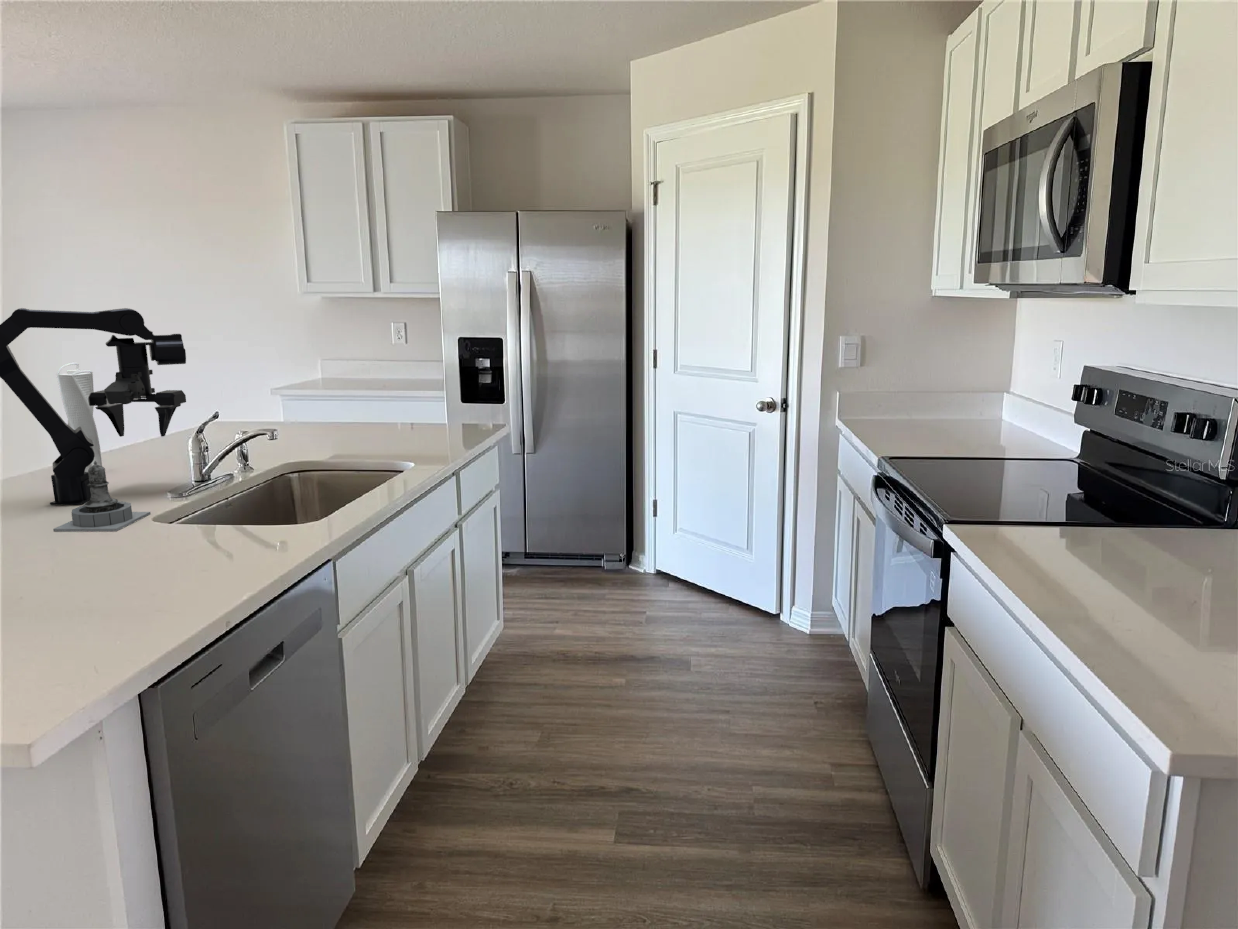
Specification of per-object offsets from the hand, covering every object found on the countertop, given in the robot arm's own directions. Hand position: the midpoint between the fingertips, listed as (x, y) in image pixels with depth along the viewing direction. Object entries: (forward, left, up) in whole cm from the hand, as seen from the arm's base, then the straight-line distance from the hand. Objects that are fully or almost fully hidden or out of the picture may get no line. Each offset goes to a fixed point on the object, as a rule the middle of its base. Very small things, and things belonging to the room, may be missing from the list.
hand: (142, 436), depth 185 cm
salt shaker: (+4, -24, -13) cm, 27 cm away
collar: (+4, -24, -13) cm, 28 cm away
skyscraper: (-24, +16, -14) cm, 32 cm away
